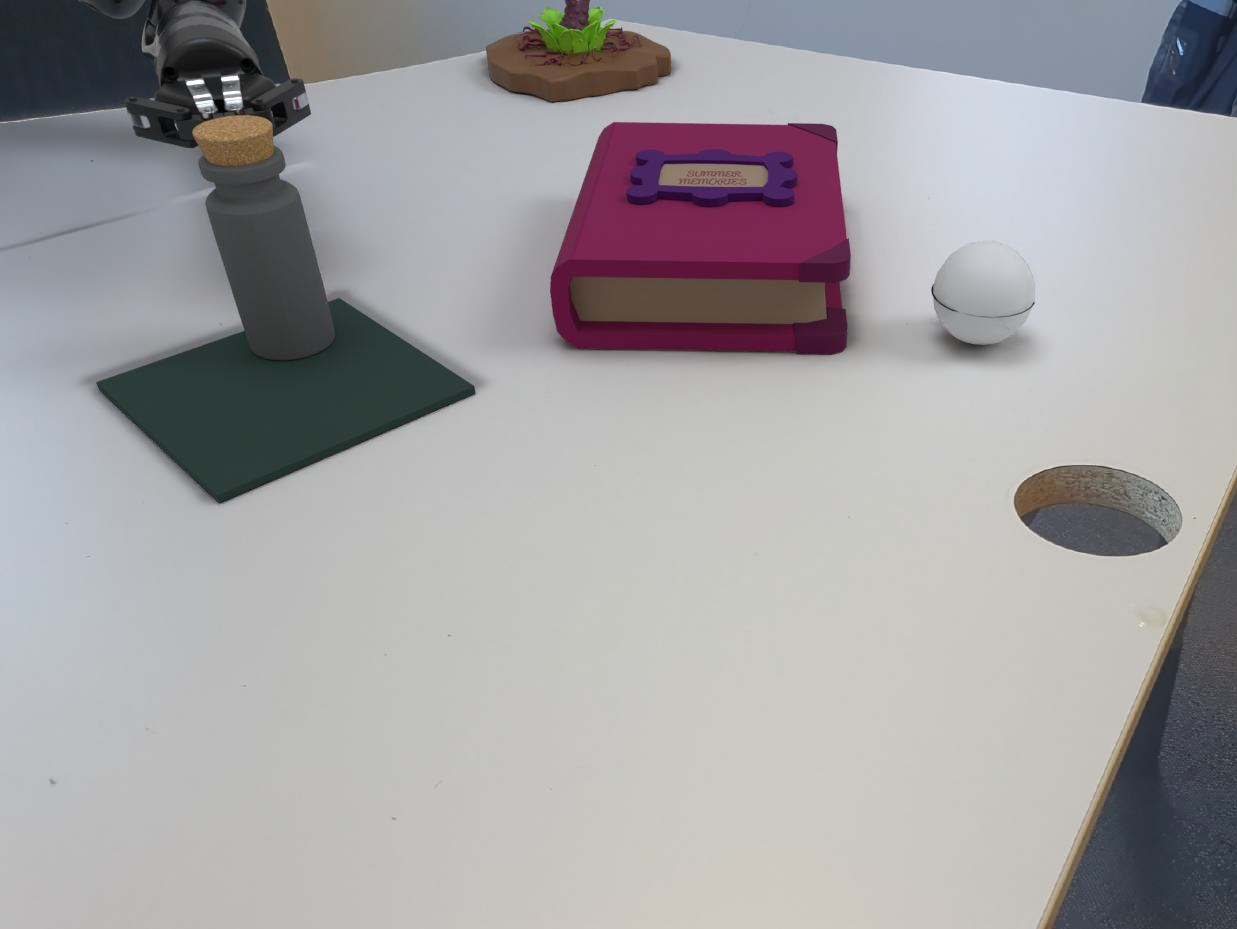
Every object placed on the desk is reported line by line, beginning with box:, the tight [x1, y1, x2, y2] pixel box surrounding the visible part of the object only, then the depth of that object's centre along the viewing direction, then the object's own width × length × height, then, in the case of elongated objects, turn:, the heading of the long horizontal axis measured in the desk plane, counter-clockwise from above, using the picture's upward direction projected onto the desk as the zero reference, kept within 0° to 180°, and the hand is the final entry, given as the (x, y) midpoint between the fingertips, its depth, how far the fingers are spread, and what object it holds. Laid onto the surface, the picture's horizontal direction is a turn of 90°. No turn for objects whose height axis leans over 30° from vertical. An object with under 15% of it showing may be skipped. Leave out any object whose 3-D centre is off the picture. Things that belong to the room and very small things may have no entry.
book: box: [549, 121, 852, 356], centre depth 89 cm, size 21×28×8 cm
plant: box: [485, 0, 672, 103], centre depth 127 cm, size 20×20×11 cm
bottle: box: [192, 115, 335, 360], centre depth 75 cm, size 6×6×15 cm
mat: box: [95, 297, 477, 504], centre depth 76 cm, size 18×18×1 cm
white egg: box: [930, 240, 1036, 346], centre depth 80 cm, size 10×7×7 cm
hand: (232, 145), depth 77 cm, fingers closed
